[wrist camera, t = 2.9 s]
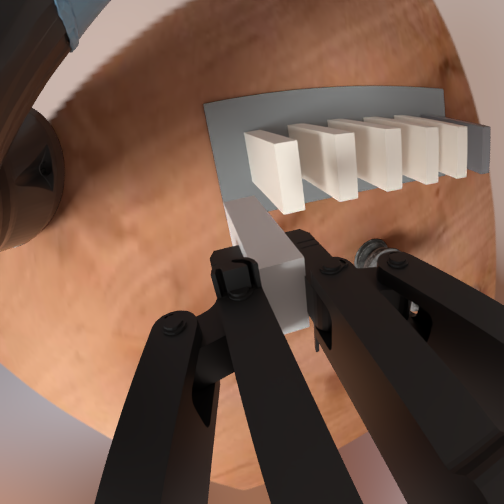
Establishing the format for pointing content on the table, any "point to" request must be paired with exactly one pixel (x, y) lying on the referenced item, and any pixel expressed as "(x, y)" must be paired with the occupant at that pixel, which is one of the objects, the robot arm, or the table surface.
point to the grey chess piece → (374, 257)
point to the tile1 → (276, 169)
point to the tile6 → (473, 143)
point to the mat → (302, 111)
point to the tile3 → (375, 152)
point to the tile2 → (327, 159)
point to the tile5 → (447, 145)
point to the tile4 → (416, 148)
